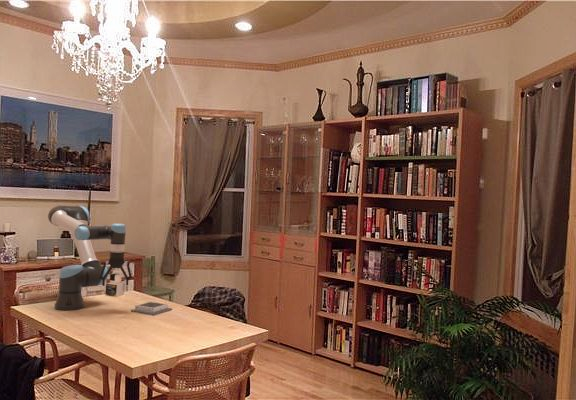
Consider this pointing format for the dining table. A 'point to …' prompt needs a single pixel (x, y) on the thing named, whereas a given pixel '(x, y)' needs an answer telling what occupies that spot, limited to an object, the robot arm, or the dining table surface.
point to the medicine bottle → (115, 286)
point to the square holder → (151, 308)
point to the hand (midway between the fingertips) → (114, 291)
